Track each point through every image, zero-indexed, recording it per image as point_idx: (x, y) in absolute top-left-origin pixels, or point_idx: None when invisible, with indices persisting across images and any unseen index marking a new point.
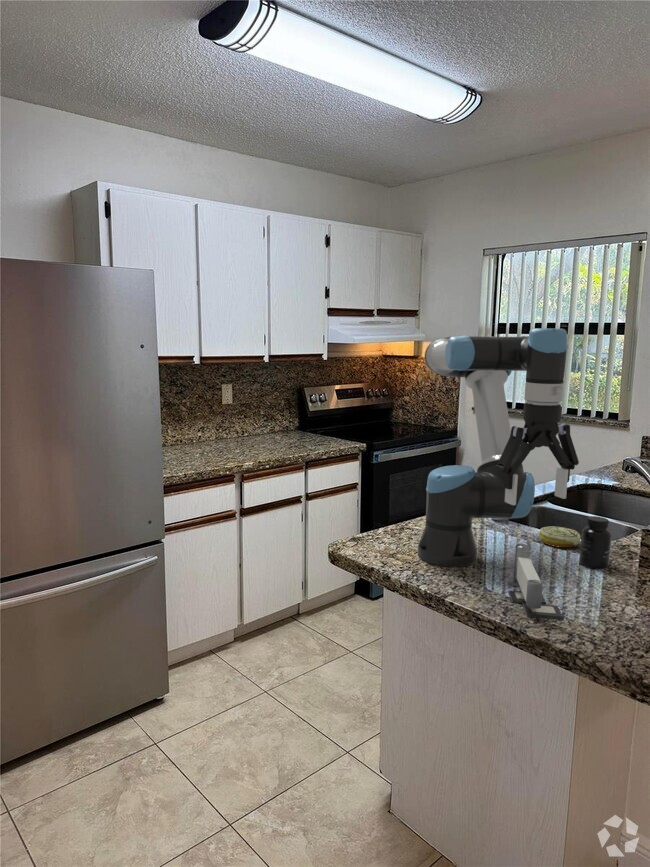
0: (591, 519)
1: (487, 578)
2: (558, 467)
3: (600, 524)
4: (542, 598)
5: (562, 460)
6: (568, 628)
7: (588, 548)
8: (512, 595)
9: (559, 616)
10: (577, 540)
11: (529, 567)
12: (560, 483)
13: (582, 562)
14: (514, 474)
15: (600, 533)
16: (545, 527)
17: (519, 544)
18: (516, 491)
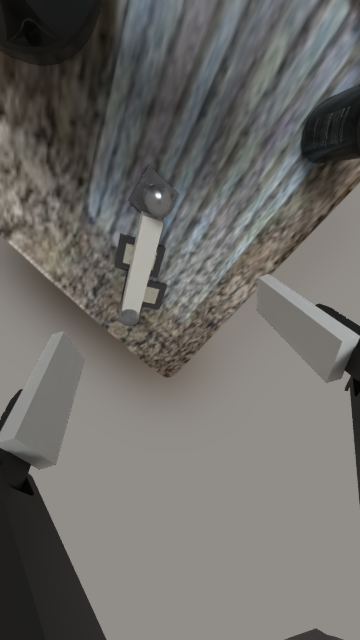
0: None
1: (100, 162)
2: (342, 348)
3: None
4: (158, 265)
5: (357, 422)
6: (154, 324)
7: (329, 139)
8: (119, 252)
9: (155, 308)
10: None
11: (144, 267)
12: (285, 322)
13: (306, 132)
14: (38, 462)
15: None
16: None
17: (157, 188)
18: (73, 395)
